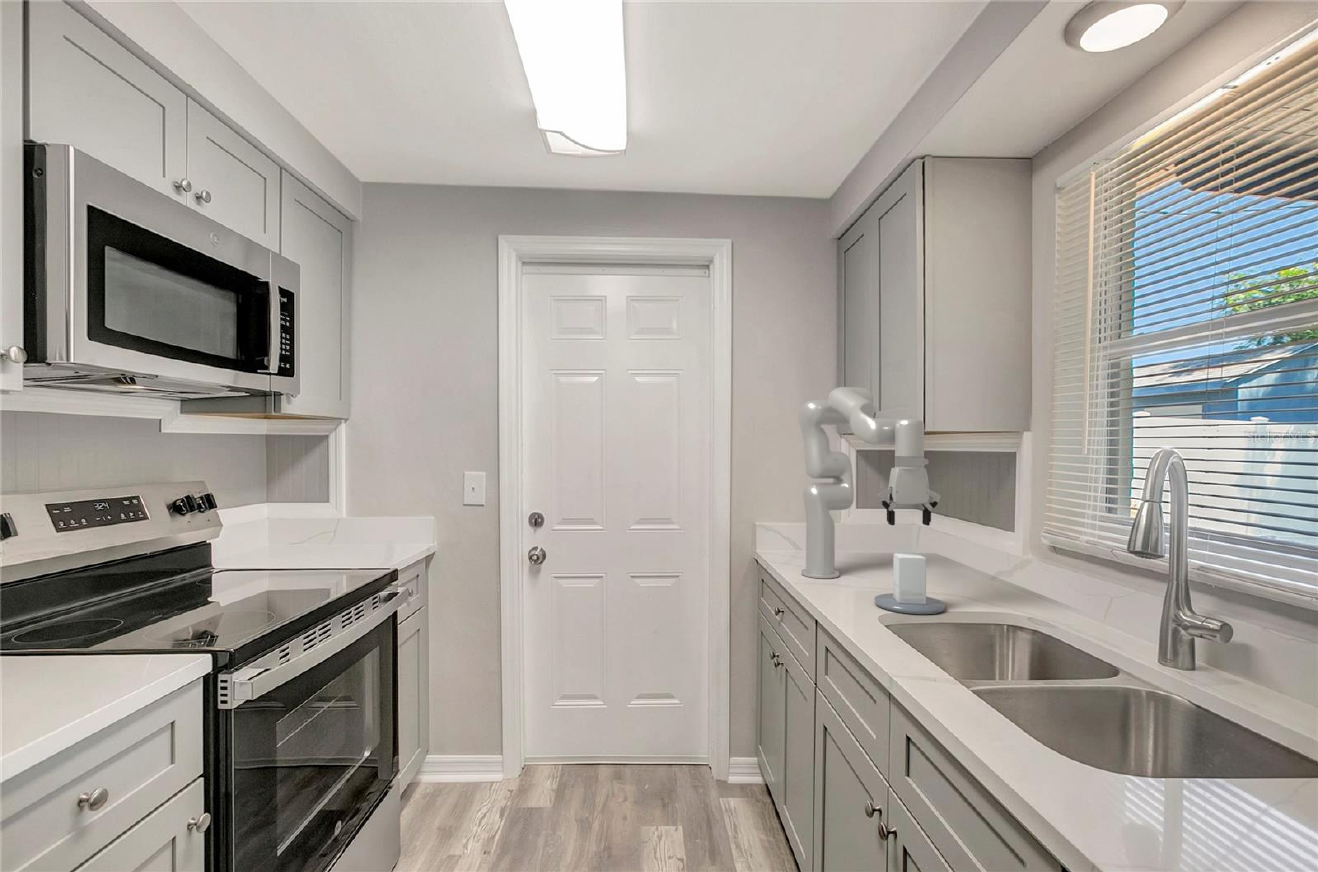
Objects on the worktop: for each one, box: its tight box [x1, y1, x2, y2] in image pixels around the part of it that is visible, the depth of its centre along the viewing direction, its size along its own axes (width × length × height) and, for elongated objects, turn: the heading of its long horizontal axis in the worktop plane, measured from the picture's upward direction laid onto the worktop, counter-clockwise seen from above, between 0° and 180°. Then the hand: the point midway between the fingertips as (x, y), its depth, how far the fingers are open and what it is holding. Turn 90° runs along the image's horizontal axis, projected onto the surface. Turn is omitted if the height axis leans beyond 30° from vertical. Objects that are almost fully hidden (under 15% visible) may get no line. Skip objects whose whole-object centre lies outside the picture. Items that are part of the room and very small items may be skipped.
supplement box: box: [892, 552, 927, 604], centre depth 174 cm, size 7×7×13 cm
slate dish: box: [874, 592, 946, 615], centre depth 173 cm, size 18×18×2 cm
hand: (908, 524), depth 174 cm, fingers open, 9 cm apart
